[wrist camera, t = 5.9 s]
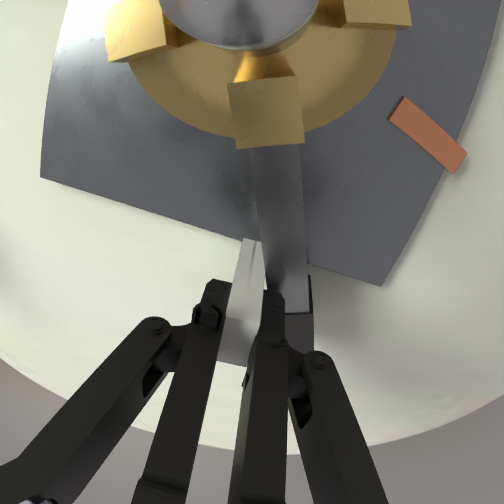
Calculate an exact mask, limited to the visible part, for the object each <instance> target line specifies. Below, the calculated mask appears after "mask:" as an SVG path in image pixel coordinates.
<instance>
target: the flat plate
mask: <svg viewBox="0 0 504 504" xmlns="http://www.w3.org/2000/svg"><path fill="white" fill-rule="evenodd" d="M121 1H123V0H69V3H68V7H67V10H66V13H65V17H64V20H63V24H62V28H61V32H60V35H59V40H58V44H57V48H56V52H55V57H54V62H53V67H52V72H51V77H50V83H49V89H48V96H47V102H46V110H45V118H44V127H43V138H42V150H41V168H40V177H41V178H45V179H48V180H51V181H54V182H57V183H61V184H64V185H67V186H70V187H73V188H77V189H80V190H83V191H86V192H89V193H93V194H96V195H99V196H102V197H105V198H108V199H112V200H115V201H118V202H121V203H124V204H127V205H131V206H134V207H137V208H140V209H143V210H146V211H149V212H153V213H156V214H159V215H162V216H165V217H168V218H171V219H174V220H178V221H181V222H184V223H187V224H190V225H193V226H196V227H199V228H203V229H206V230H209V231H212V232H215V233H218V234H221V235H224V236H227V237H230V238H234V239H237V240H240V241H243V238H246V239H250V240H255V241H259V242H261V237H260V230H259V222H258V215H257V208H256V200H255V193H254V186H253V178H252V171H251V164H250V157H249V149H248V148H244V149H236V142H235V138H231V137H225V136H220V135H216V134H213V133H209V132H206V131H203V130H200V129H198V128H196V127H193V126H191V125H189V124H187V123H184V122H183V121H181V120H179V119H178V118H176V117H174V116H173V115H171V114H170V113H168V112H167V111H166V110H165V109H163V108H162V107H161V106H159V105H158V104H157V103H156V102H155V101H154V100H153V99H152V98H151V97H150V96H149V95H148V94H147V93H146V91H145V90H144V89H143V87H142V86H141V85H140V83H139V82H138V81H137V79H136V77H135V75H134V74H133V72H132V70H131V68H130V66H129V63H128V62H126V63H113V62H108V55H107V48H106V41H105V33H104V25H103V16H102V9H103V8H105V7H108V6H110V5H113V4H115V3H118V2H121ZM158 1H159V4H160V6H161V8H162V10H163V12H164V13H165V15H166V16H167V17H168V19H169V20H170V21H171V22H172V23H173V24H174V25H175V26H176V27H178V28H179V29H180V30H182V31H183V32H185V33H187V34H188V35H190V36H192V37H194V38H197V39H199V40H201V41H203V42H206V43H208V44H210V45H212V46H214V47H216V48H218V49H220V50H223V51H225V52H227V53H230V54H233V55H237V56H242V57H263V56H268V55H272V54H276V53H278V52H281V51H283V50H285V49H287V48H289V47H290V46H291V45H293V44H294V43H295V42H297V41H298V40H299V39H300V38H301V37H302V35H303V34H304V33H305V32H306V30H307V28H308V27H309V24H310V22H311V20H312V17H313V15H314V13H315V10H316V8H317V5H318V3H319V0H158ZM500 1H501V0H408V4H409V9H410V15H411V22H412V26H411V27H408V28H406V29H403V30H401V31H396V38H395V42H394V47H393V51H392V54H391V56H390V59H389V61H388V64H387V66H386V68H385V70H384V72H383V73H382V75H381V77H380V79H379V80H378V82H377V83H376V84H375V85H374V87H373V88H372V89H371V90H370V92H369V93H368V94H367V95H366V96H365V97H364V98H363V99H362V100H361V101H360V102H359V103H358V104H357V105H356V106H354V107H353V108H351V109H350V110H349V111H347V112H346V113H345V114H343V115H342V116H340V117H338V118H337V119H335V120H333V121H331V122H329V123H327V124H326V125H323V126H321V127H318V128H316V129H313V130H311V131H308V132H305V133H304V138H305V143H298V145H299V155H300V166H301V178H302V190H303V203H304V217H305V232H306V249H307V263H310V264H313V265H316V266H319V267H323V268H326V269H329V270H332V271H335V272H338V273H341V274H344V275H347V276H350V277H353V278H356V279H359V280H362V281H365V282H368V283H371V284H374V285H377V286H380V287H381V285H382V284H383V282H384V281H385V279H386V277H387V276H388V274H389V272H390V270H391V269H392V267H393V265H394V264H395V262H396V260H397V258H398V257H399V255H400V253H401V251H402V250H403V248H404V246H405V244H406V243H407V241H408V239H409V237H410V235H411V233H412V232H413V230H414V228H415V226H416V224H417V222H418V220H419V218H420V216H421V215H422V213H423V211H424V209H425V207H426V205H427V203H428V201H429V199H430V197H431V195H432V193H433V191H434V189H435V186H436V184H437V182H438V180H439V178H440V176H441V174H442V172H443V169H444V167H445V168H446V169H447V170H448V171H449V172H450V173H451V174H453V173H454V172H455V171H456V169H457V168H458V166H459V165H460V163H461V162H462V160H463V159H464V158H465V156H466V155H467V152H466V151H465V150H464V149H463V148H462V147H461V146H460V145H459V144H458V143H457V142H456V140H457V137H458V135H459V132H460V130H461V127H462V125H463V122H464V120H465V117H466V115H467V112H468V109H469V107H470V104H471V101H472V98H473V96H474V93H475V90H476V87H477V84H478V81H479V78H480V75H481V72H482V69H483V66H484V63H485V59H486V56H487V53H488V49H489V46H490V42H491V38H492V35H493V31H494V27H495V23H496V19H497V15H498V10H499V6H500Z"/></svg>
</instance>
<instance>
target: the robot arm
mask: <svg viewBox="0 0 504 504" xmlns="http://www.w3.org/2000/svg"><path fill="white" fill-rule="evenodd" d="M264 278H265V268H264V260H263V253H262V245H261V242H259V241H255V240H250V239H246V238H243V242H242V246H241V250H240V254H239V258H238V263H237V267H236V271H235V276H234V280H233V283H230V282H225V281H221V280H217V279H212V280H211V281H209V282H208V283H207V284H206V287H205V290H204V293H203V296H202V299H201V302H200V303H199V304H197V305H196V306H195V307H194V308H193V313H192V321H191V323H189V324H187V325H183V326H171V325H170V323H169V322H168V321H167V320H165V319H164V318H161V317H148V318H145V319H144V320H142V321H141V322H140V323H139V324H138V325H137V326H136V327H135V329H134V330H133V331H132V332H131V333H130V334H129V335H128V336H127V337H126V338H125V339H124V340H123V341H122V342H121V343H120V344H119V346H118V347H117V348H116V349H115V350H114V351H113V352H112V353H111V354H110V355H109V356H108V357H107V358H106V359H105V361H104V362H103V363H102V364H101V365H100V366H99V367H98V368H97V369H96V370H95V371H94V372H93V374H92V375H91V376H90V377H89V378H88V379H87V380H86V381H85V382H84V383H83V384H82V386H81V387H80V388H79V389H78V390H77V391H76V392H75V393H74V394H73V395H72V397H71V398H70V399H69V400H68V401H67V402H66V403H65V405H64V406H63V407H62V408H61V409H60V410H59V411H58V412H57V413H56V414H55V416H54V417H53V418H52V419H51V420H50V421H49V422H48V424H47V425H46V426H45V427H44V428H43V429H42V430H41V431H40V432H39V434H38V435H37V436H36V437H35V438H34V439H33V441H32V442H31V443H30V444H29V445H28V446H27V447H26V449H25V450H24V451H23V452H22V453H21V454H20V456H19V457H18V458H16V459H14V460H12V461H10V462H8V463H6V464H4V465H2V466H0V504H72V503H73V502H74V501H75V500H76V499H77V497H78V496H79V495H80V494H81V492H82V491H83V490H84V488H85V487H86V485H87V484H88V483H89V481H90V480H91V479H92V477H93V476H94V475H95V473H96V472H97V470H98V469H99V468H100V466H101V465H102V464H103V462H104V461H105V459H106V458H107V457H108V455H109V454H110V453H111V451H112V450H113V449H114V447H115V446H116V444H117V443H118V442H119V440H120V439H121V438H122V436H123V435H124V434H125V432H126V431H127V429H128V428H129V427H130V425H131V424H132V423H133V421H134V420H135V418H136V417H137V416H138V414H139V413H140V412H141V410H142V409H143V407H144V406H145V405H146V403H147V402H148V401H149V399H150V398H151V396H152V395H153V394H154V392H155V391H156V390H157V388H158V387H159V385H160V384H161V383H162V381H163V380H164V379H165V377H166V376H167V374H168V372H175V373H174V376H173V379H172V382H171V385H170V388H169V391H168V395H167V398H166V401H165V404H164V407H163V410H162V413H161V416H160V420H159V423H158V426H157V429H156V432H155V436H154V439H153V443H152V445H151V449H150V452H149V455H148V459H147V462H146V465H145V469H144V472H143V475H142V477H141V478H140V479H139V481H138V483H137V485H136V489H135V492H134V495H133V498H132V502H131V504H185V502H186V497H187V492H188V488H189V483H190V478H191V473H192V469H193V464H194V460H195V455H196V451H197V446H198V441H199V437H200V432H201V428H202V423H203V419H204V414H205V410H206V405H207V401H208V396H209V392H210V387H211V383H212V378H213V374H214V369H215V365H216V361H220V362H225V363H229V364H234V365H238V366H243V367H246V366H247V371H246V374H245V377H244V380H243V383H242V387H243V392H242V400H241V407H240V415H239V422H238V430H237V437H236V445H235V452H234V459H233V467H232V474H231V481H230V488H229V496H228V503H227V504H286V503H285V483H286V458H287V422H288V409H289V413H290V417H291V420H292V424H293V428H294V431H295V435H296V439H297V443H298V446H299V450H300V454H301V457H302V461H303V465H304V469H305V472H306V476H307V480H308V483H309V487H310V491H311V494H312V498H313V501H314V504H389V503H388V500H387V498H386V495H385V492H384V489H383V487H382V484H381V481H380V479H379V476H378V473H377V471H376V468H375V465H374V463H373V460H372V457H371V455H370V452H369V450H368V447H367V444H366V442H365V439H364V437H363V434H362V431H361V429H360V426H359V424H358V421H357V419H356V416H355V414H354V411H353V409H352V406H351V404H350V401H349V399H348V396H347V394H346V391H345V389H344V386H343V384H342V381H341V379H340V376H339V374H338V372H337V369H336V367H335V364H334V362H333V360H332V359H331V357H330V356H328V355H327V354H326V353H323V352H321V351H310V352H308V353H307V354H306V355H305V354H303V353H301V352H298V351H296V350H295V349H293V348H292V347H291V346H289V344H288V341H287V339H286V338H285V299H284V298H283V296H282V294H281V293H277V292H273V291H268V290H264ZM247 363H248V364H247Z"/></svg>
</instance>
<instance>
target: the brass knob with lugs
mask: <svg viewBox="0 0 504 504" xmlns="http://www.w3.org/2000/svg"><path fill="white" fill-rule="evenodd" d="M102 16H103V25H104V33H105V41H106V48H107V55H108V62H113V63H126V62H128V63H129V66H130V68H131V70H132V72H133V74H134V75H135V77H136V79H137V81H138V82H139V83H140V85H141V86H142V87H143V89H144V90H145V91H146V93H147V94H148V95H149V96H150V97H151V98H152V99H153V100H154V101H155V102H156V103H157V104H158V105H159V106H161V107H162V108H163V109H165V110H166V111H167V112H168V113H170V114H171V115H173V116H174V117H176V118H178V119H179V120H181V121H183V122H184V123H187V124H189V125H191V126H193V127H196V128H198V129H200V130H203V131H206V132H209V133H213V134H216V135H220V136H225V137H231V138H235V142H236V149H244V148H248V149H249V157H250V164H251V171H252V178H253V186H254V193H255V200H256V208H257V215H258V222H259V230H260V237H261V245H262V253H263V260H264V268H265V275H266V283H267V290H268V291H273V292H277V293H281V294H282V296H283V298H284V299H285V338H286V339H287V341H288V344H289V346H291V347H292V348H293V349H295V350H296V351H298V352H301V353H303V354H305V355H306V354H307V353H308V352H310V351H314V322H313V303H312V291H311V279H310V275H308V268H307V249H306V232H305V217H304V203H303V190H302V178H301V166H300V155H299V145H298V143H305V138H304V133H305V132H308V131H311V130H313V129H316V128H318V127H321V126H323V125H326V124H327V123H329V122H331V121H333V120H335V119H337V118H338V117H340V116H342V115H343V114H345V113H346V112H347V111H349V110H350V109H351V108H353V107H354V106H356V105H357V104H358V103H359V102H360V101H361V100H362V99H363V98H364V97H365V96H366V95H367V94H368V93H369V92H370V90H371V89H372V88H373V87H374V85H375V84H376V83H377V82H378V80H379V79H380V77H381V75H382V73H383V72H384V70H385V68H386V66H387V64H388V61H389V59H390V56H391V54H392V51H393V47H394V42H395V38H396V31H401V30H403V29H406V28H408V27H411V26H412V22H411V15H410V9H409V4H408V0H319V3H318V5H317V8H316V10H315V13H314V15H313V17H312V20H311V22H310V24H309V27H308V28H307V30H306V32H305V33H304V34H303V35H302V37H301V38H300V39H299V40H298V41H297V42H295V43H294V44H293V45H291V46H290V47H289V48H287V49H285V50H283V51H281V52H278V53H276V54H272V55H268V56H263V57H242V56H237V55H233V54H230V53H227V52H225V51H223V50H220V49H218V48H216V47H214V46H212V45H210V44H208V43H206V42H203V41H201V40H199V39H197V38H194V37H192V36H190V35H188V34H187V33H185V32H183V31H182V30H180V29H179V28H178V27H176V26H175V25H174V24H173V23H172V22H171V21H170V20H169V19H168V17H167V16H166V15H165V13H164V12H163V10H162V8H161V6H160V4H159V1H158V0H123V1H121V2H118V3H115V4H113V5H110V6H108V7H105V8H103V9H102Z"/></svg>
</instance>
